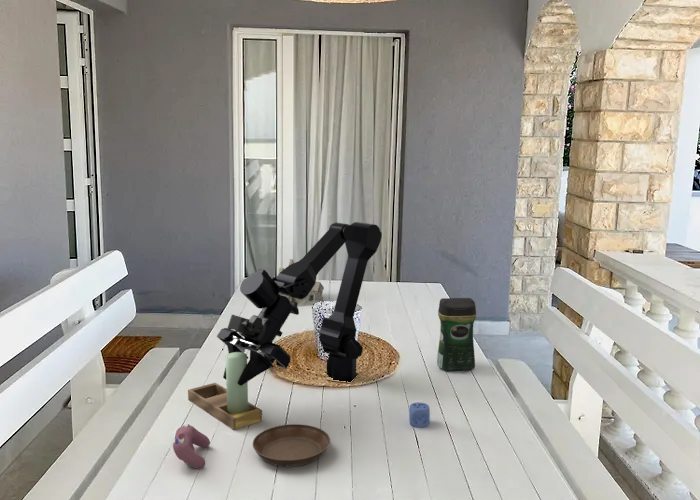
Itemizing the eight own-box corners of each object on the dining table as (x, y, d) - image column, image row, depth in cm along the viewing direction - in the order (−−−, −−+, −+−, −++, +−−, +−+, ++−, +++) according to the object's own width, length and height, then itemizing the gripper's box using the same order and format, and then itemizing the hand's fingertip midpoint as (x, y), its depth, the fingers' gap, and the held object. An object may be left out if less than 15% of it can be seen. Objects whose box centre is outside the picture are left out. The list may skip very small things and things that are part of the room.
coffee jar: (469, 362, 182) (472, 294, 179) (477, 372, 175) (480, 302, 171) (433, 362, 182) (435, 294, 178) (439, 373, 174) (442, 302, 170)
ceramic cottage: (264, 303, 239) (267, 261, 237) (294, 295, 253) (297, 255, 250) (300, 313, 231) (303, 269, 228) (328, 304, 244) (331, 263, 242)
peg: (249, 405, 148) (248, 352, 146) (246, 413, 144) (245, 359, 142) (228, 405, 148) (227, 352, 146) (225, 413, 144) (224, 359, 142)
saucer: (258, 477, 123) (258, 463, 122) (248, 441, 137) (248, 428, 136) (338, 467, 127) (338, 453, 126) (320, 432, 141) (320, 420, 140)
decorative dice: (409, 419, 147) (409, 401, 146) (427, 419, 147) (428, 402, 146) (410, 427, 143) (410, 409, 142) (429, 428, 143) (430, 409, 142)
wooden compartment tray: (188, 399, 156) (187, 389, 156) (215, 392, 161) (215, 382, 160) (233, 429, 141) (233, 418, 141) (262, 420, 146) (261, 410, 145)
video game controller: (191, 453, 135) (173, 423, 133) (212, 442, 135) (194, 413, 133) (184, 478, 125) (165, 447, 123) (207, 467, 125) (188, 436, 123)
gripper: (222, 292, 151) (181, 352, 145) (279, 307, 139) (237, 374, 133) (251, 319, 158) (213, 377, 152) (307, 336, 146) (269, 400, 140)
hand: (231, 381), depth 144 cm, fingers closed on peg, 4 cm apart
